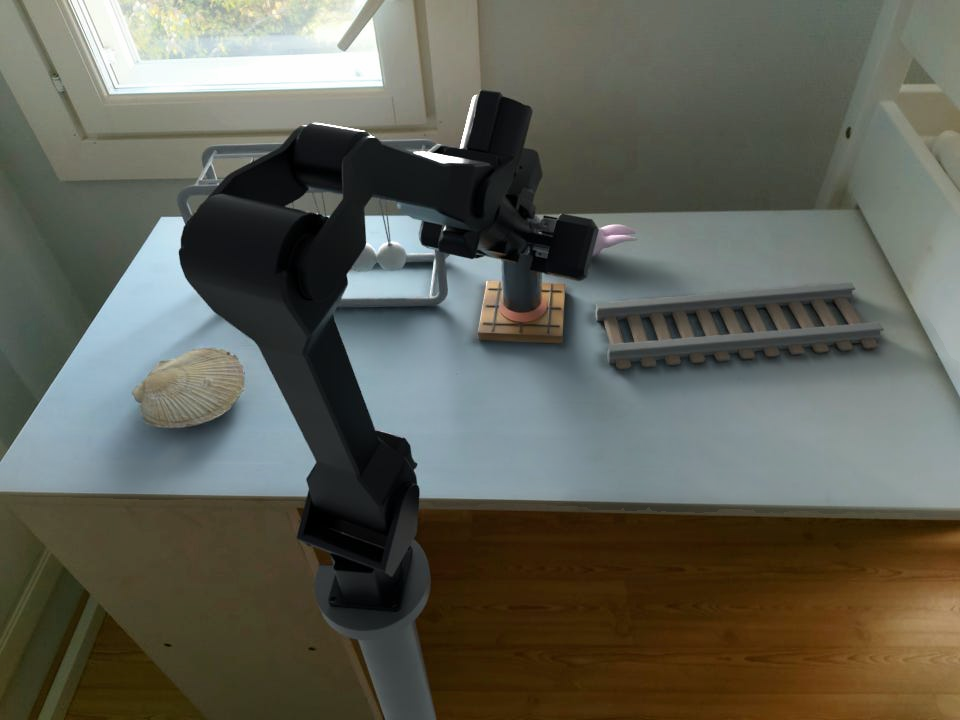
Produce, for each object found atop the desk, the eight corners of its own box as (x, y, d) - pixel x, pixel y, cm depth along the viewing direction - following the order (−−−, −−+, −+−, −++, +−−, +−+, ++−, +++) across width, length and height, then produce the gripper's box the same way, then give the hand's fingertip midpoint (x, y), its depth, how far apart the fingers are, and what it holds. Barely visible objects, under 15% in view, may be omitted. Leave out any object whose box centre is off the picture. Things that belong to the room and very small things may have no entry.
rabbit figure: (527, 279, 100) (641, 260, 98) (519, 243, 96) (638, 222, 94) (525, 251, 105) (633, 232, 102) (517, 216, 100) (630, 195, 98)
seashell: (259, 415, 83) (252, 397, 81) (149, 454, 79) (140, 436, 77) (235, 352, 90) (229, 334, 88) (135, 385, 87) (125, 367, 85)
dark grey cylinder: (550, 301, 91) (552, 213, 82) (520, 318, 89) (519, 230, 80) (523, 283, 93) (522, 196, 85) (494, 299, 91) (490, 212, 83)
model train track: (883, 349, 86) (889, 336, 84) (611, 372, 85) (612, 359, 83) (841, 288, 94) (846, 275, 92) (593, 308, 93) (594, 295, 92)
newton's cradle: (215, 310, 96) (169, 189, 84) (237, 261, 104) (198, 143, 91) (448, 307, 94) (437, 182, 82) (453, 258, 102) (443, 137, 90)
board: (562, 343, 89) (562, 335, 88) (478, 339, 90) (477, 331, 89) (564, 290, 96) (565, 282, 95) (487, 287, 97) (486, 279, 96)
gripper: (599, 151, 69) (621, 196, 84) (419, 123, 75) (469, 169, 90) (569, 268, 70) (596, 292, 84) (392, 231, 75) (446, 259, 90)
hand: (525, 249), depth 87 cm, fingers closed on dark grey cylinder, 5 cm apart
